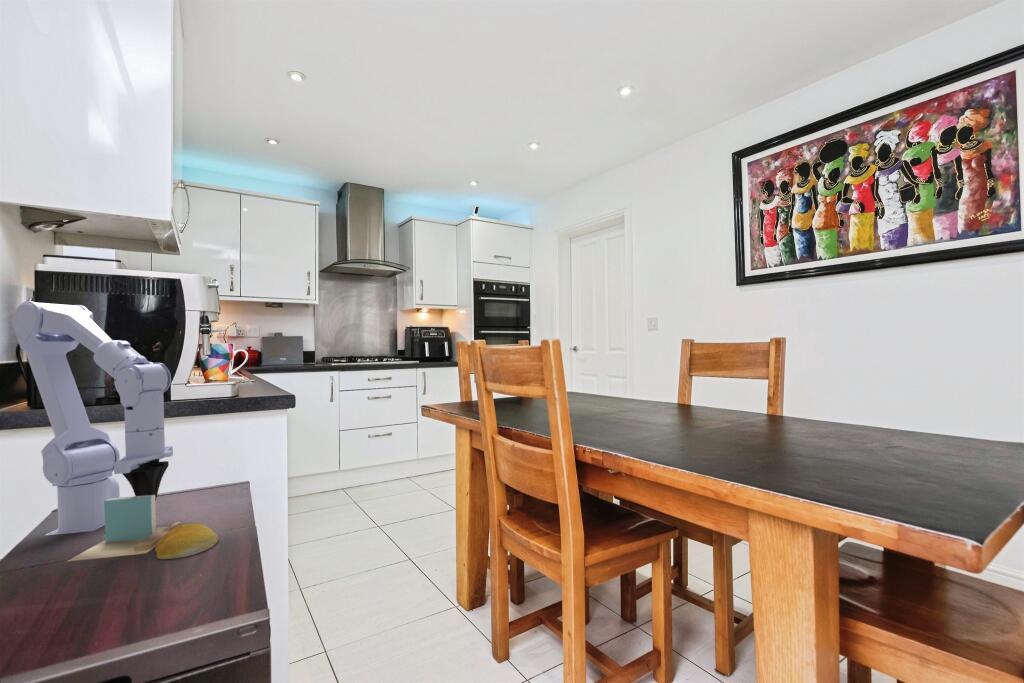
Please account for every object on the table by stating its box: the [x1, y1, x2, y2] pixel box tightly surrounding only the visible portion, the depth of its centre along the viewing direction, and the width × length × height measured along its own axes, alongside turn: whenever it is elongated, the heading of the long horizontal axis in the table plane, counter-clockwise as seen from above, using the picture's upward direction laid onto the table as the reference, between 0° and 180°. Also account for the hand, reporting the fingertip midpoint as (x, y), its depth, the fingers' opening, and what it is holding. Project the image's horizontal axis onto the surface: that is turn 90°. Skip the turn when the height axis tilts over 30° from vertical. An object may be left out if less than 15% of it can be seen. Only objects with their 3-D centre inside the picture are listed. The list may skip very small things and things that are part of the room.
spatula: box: [134, 521, 182, 551], centre depth 82 cm, size 11×2×1 cm, turn 10°
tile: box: [104, 495, 157, 543], centre depth 82 cm, size 2×7×7 cm, turn 100°
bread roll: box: [154, 523, 219, 560], centre depth 77 cm, size 8×9×4 cm
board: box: [66, 526, 168, 562], centre depth 81 cm, size 13×11×1 cm
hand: (147, 504), depth 87 cm, fingers closed
